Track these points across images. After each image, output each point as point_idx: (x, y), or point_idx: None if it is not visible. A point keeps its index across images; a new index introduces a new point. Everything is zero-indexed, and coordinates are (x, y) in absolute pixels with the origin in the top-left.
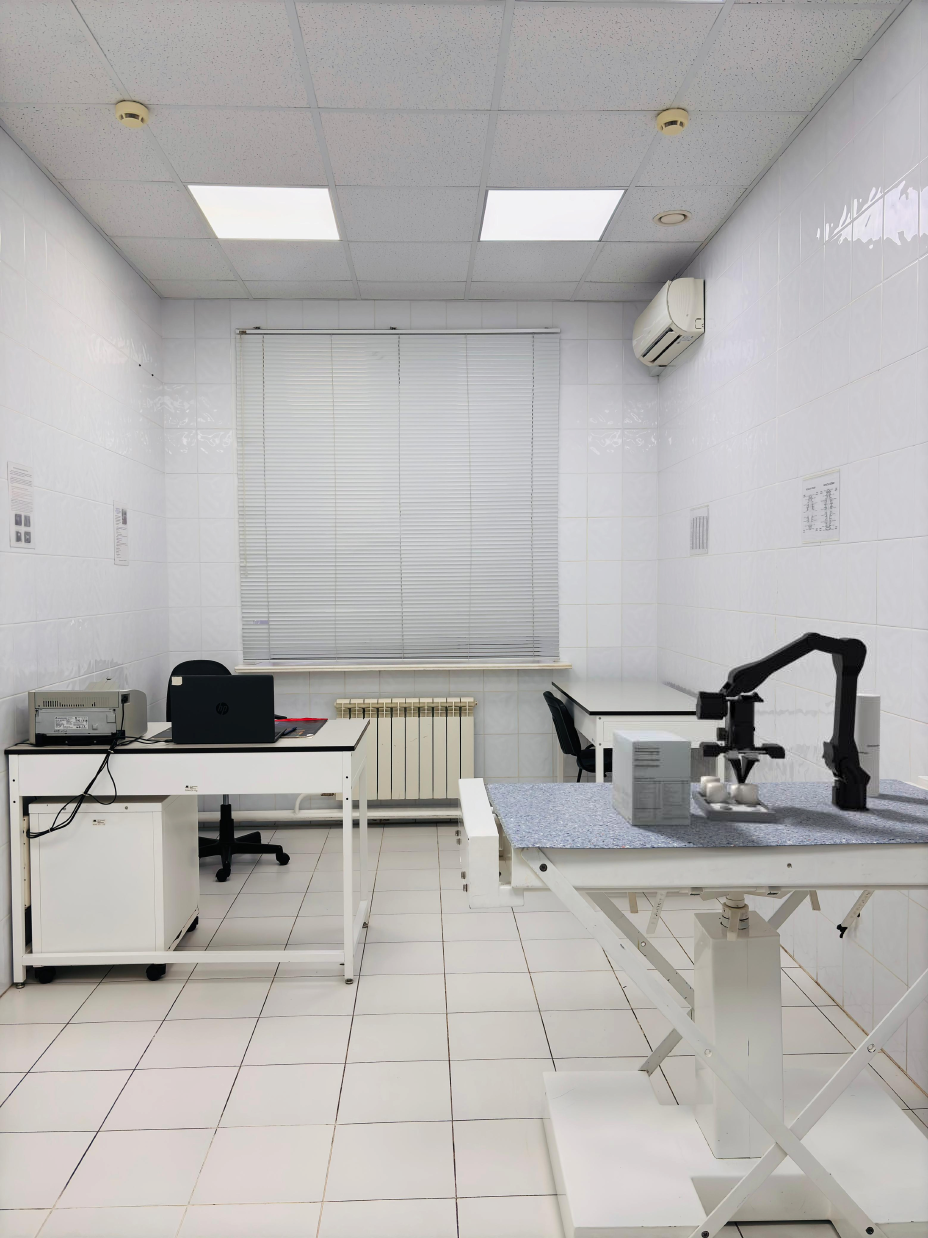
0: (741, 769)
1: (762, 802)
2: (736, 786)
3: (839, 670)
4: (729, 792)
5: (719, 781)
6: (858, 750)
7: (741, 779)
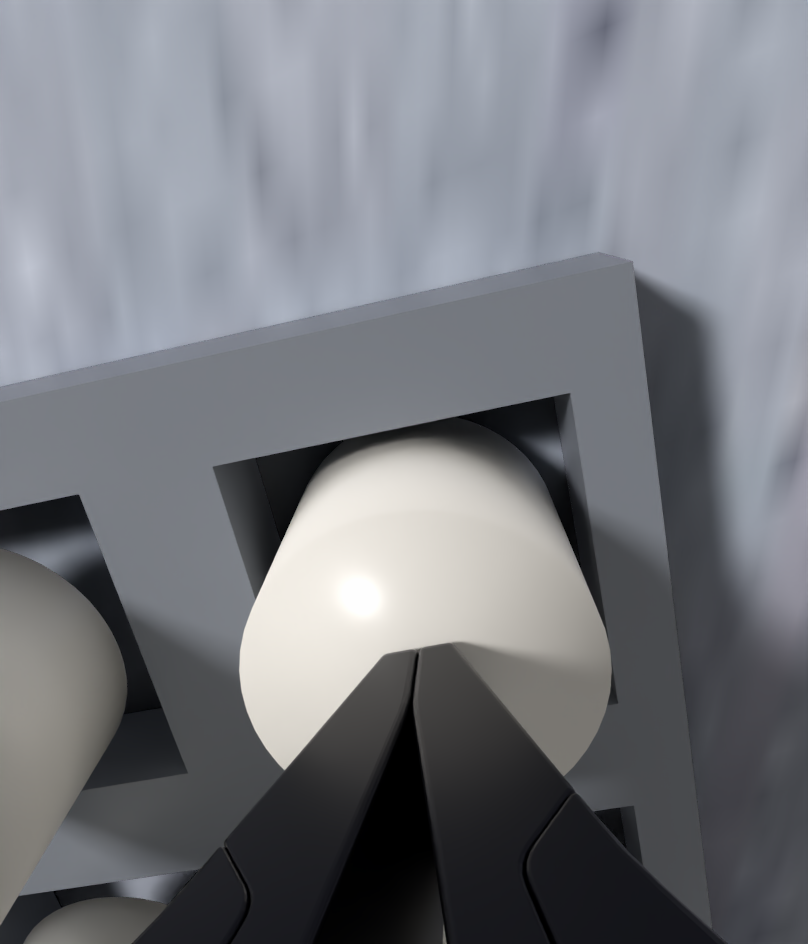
0: (444, 904)
1: (701, 879)
2: None
3: None
4: (244, 409)
5: (4, 911)
6: None
7: (436, 900)
